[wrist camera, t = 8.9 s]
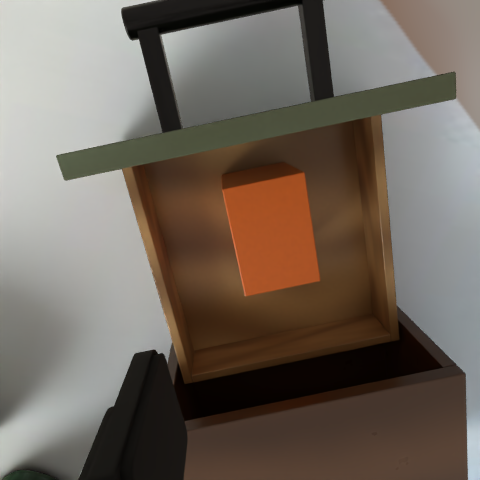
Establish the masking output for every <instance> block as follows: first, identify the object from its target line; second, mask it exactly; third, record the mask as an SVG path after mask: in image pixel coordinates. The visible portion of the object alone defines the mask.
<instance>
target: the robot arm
mask: <svg viewBox="0 0 480 480" xmlns="http://www.w3.org/2000/svg"><path fill="white" fill-rule="evenodd" d="M187 442H188V437H187V429H186V425H185V422H184V419H183V415H182V412H181V409H180V405H179V402H178V399H177V395H176V392H175V389H174V385H173V382H172V379H171V375H170V372H169V369H168V366H167V362H166V359H165V356H164V354H163V353H160V354H158V353H157V351H156V350H149V351H145V352H140V353H136V354H134V356H133V358H132V361H131V364H130V366H129V369H128V371H127V374H126V377H125V379H124V382H123V384H122V387H121V389H120V392H119V395H118V397H117V400H116V402H115V405H114V407H110V408H109V409H108V410H107V411H106V413H105V415H104V418H103V420H102V423H101V425H100V428H99V430H98V433H97V435H96V437H95V440H94V442H93V445H92V447H91V450H90V452H89V455H88V457H87V459H86V462H85V464H84V467H83V469H82V472H81V474H80V477H79V479H78V480H184V471H185V461H186V452H187Z"/></svg>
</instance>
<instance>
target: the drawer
mask: <svg viewBox="0 0 480 480" xmlns="http://www.w3.org/2000/svg"><path fill="white" fill-rule="evenodd" d="M294 6H298V9H299V16H300V24H301V31H302V38H303V46H304V53H305V61H306V68H307V76H308V83H309V91H310V98H311V102H308V103H303V104H298V105H293V106H289V107H284V108H279V109H274V110H269V111H265V112H260V113H255V114H250V115H246V116H241V117H236V118H231V119H227V120H222V121H217V122H212V123H207V124H203V125H198V126H193V127H188V128H184V129H183V126H182V121H181V117H180V113H179V109H178V104H177V100H176V96H175V92H174V87H173V83H172V79H171V75H170V70H169V66H168V62H167V58H166V53H165V49H164V45H163V41H162V36H161V35H162V34H166V33H171V32H176V31H180V30H185V29H190V28H195V27H199V26H204V25H209V24H214V23H218V22H223V21H228V20H233V19H237V18H242V17H247V16H252V15H256V14H261V13H266V12H271V11H275V10H280V9H285V8H290V7H294ZM121 14H122V19H123V23H124V26H125V29H126V32H127V35H128V37H129V38H130V40H132V41H133V40H138V39H139V41H140V45H141V49H142V53H143V57H144V61H145V65H146V69H147V73H148V77H149V81H150V85H151V89H152V93H153V97H154V100H155V104H156V108H157V112H158V116H159V120H160V124H161V128H162V132H163V133H160V134H155V135H150V136H145V137H141V138H136V139H131V140H126V141H122V142H117V143H112V144H107V145H103V146H98V147H93V148H88V149H83V150H79V151H74V152H69V153H64V154H60V155H57V156H56V157H57V160H58V163H59V166H60V169H61V172H62V175H63V177H64V180H71V179H76V178H81V177H85V176H90V175H95V174H100V173H105V172H109V171H114V170H119V169H122V171H123V174H124V178H125V181H126V185H127V188H128V191H129V195H130V198H131V202H132V205H133V209H134V212H135V215H136V219H137V222H138V226H139V229H140V233H141V236H142V239H143V243H144V246H145V250H146V253H147V257H148V260H149V263H150V267H151V270H152V274H153V277H154V281H155V284H156V287H157V291H158V294H159V298H160V301H161V305H162V308H163V311H164V315H165V318H166V322H167V325H168V329H169V332H170V335H171V339H172V342H173V346H174V349H175V353H176V356H177V359H178V363H179V366H180V370H181V373H182V376H183V380H184V383H185V384H189V383H193V382H199V381H204V380H208V379H213V378H218V377H223V376H228V375H233V374H237V373H242V372H247V371H252V370H257V369H262V368H266V367H271V366H276V365H281V364H286V363H291V362H295V361H300V360H305V359H310V358H315V357H320V356H324V355H329V354H334V353H339V352H344V351H349V350H353V349H358V348H363V347H368V346H373V345H378V344H382V343H387V342H391V341H397V340H399V328H398V316H397V304H396V292H395V280H394V267H393V255H392V243H391V231H390V218H389V206H388V194H387V182H386V170H385V157H384V145H383V133H382V121H381V115H382V114H386V113H391V112H396V111H401V110H405V109H410V108H415V107H420V106H425V105H429V104H434V103H439V102H444V101H448V100H453V99H456V73H455V72H451V73H446V74H441V75H436V76H432V77H427V78H422V79H417V80H412V81H408V82H403V83H398V84H393V85H389V86H384V87H379V88H374V89H370V90H365V91H360V92H355V93H350V94H346V95H341V96H336V97H334V94H333V85H332V77H331V68H330V60H329V51H328V42H327V34H326V25H325V17H324V8H323V0H157V1H152V2H147V3H143V4H138V5H133V6H128V7H124V8H122V9H121ZM281 162H285V163H287V164H289V165H291V166H293V167H295V168H297V169H299V170H301V171H303V172H304V173H305V178H306V184H307V191H308V198H309V205H310V212H311V218H312V225H313V232H314V239H315V246H316V253H317V259H318V266H319V273H320V281H318V282H313V283H308V284H303V285H299V286H294V287H289V288H284V289H279V290H275V291H270V292H265V293H260V294H255V295H250V296H245V294H244V290H243V285H242V281H241V276H240V271H239V267H238V262H237V257H236V253H235V248H234V243H233V239H232V234H231V230H230V225H229V220H228V216H227V211H226V206H225V202H224V197H223V192H222V181H221V175H223V174H228V173H233V172H238V171H242V170H247V169H252V168H257V167H261V166H266V165H271V164H276V163H281Z"/></svg>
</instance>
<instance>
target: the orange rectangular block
mask: <svg viewBox="0 0 480 480" xmlns="http://www.w3.org/2000/svg"><path fill="white" fill-rule="evenodd" d="M221 181H222V192H223V197H224V202H225V206H226V211H227V216H228V220H229V225H230V230H231V234H232V239H233V243H234V248H235V253H236V257H237V262H238V267H239V271H240V276H241V281H242V285H243V290H244V294H245V296H250V295H255V294H260V293H265V292H270V291H275V290H279V289H284V288H289V287H294V286H299V285H303V284H308V283H313V282H318V281H320V273H319V266H318V259H317V253H316V246H315V239H314V232H313V225H312V218H311V212H310V205H309V198H308V191H307V184H306V178H305V173H304V172H303V171H301V170H299V169H297V168H295V167H293V166H291V165H289V164H287V163H285V162H281V163H276V164H271V165H266V166H261V167H257V168H252V169H247V170H242V171H238V172H233V173H228V174H223V175H221Z"/></svg>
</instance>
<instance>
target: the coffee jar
mask: <svg viewBox="0 0 480 480" xmlns="http://www.w3.org/2000/svg"><path fill="white" fill-rule="evenodd" d="M1 480H57V479H55V478H53V477H51V476H49V475H47V474H42V473H38V472H35V471H27V470H18V471H15V472H13V473H10V474H9V475H7V476H6V477H4V478H3V479H1Z"/></svg>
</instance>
